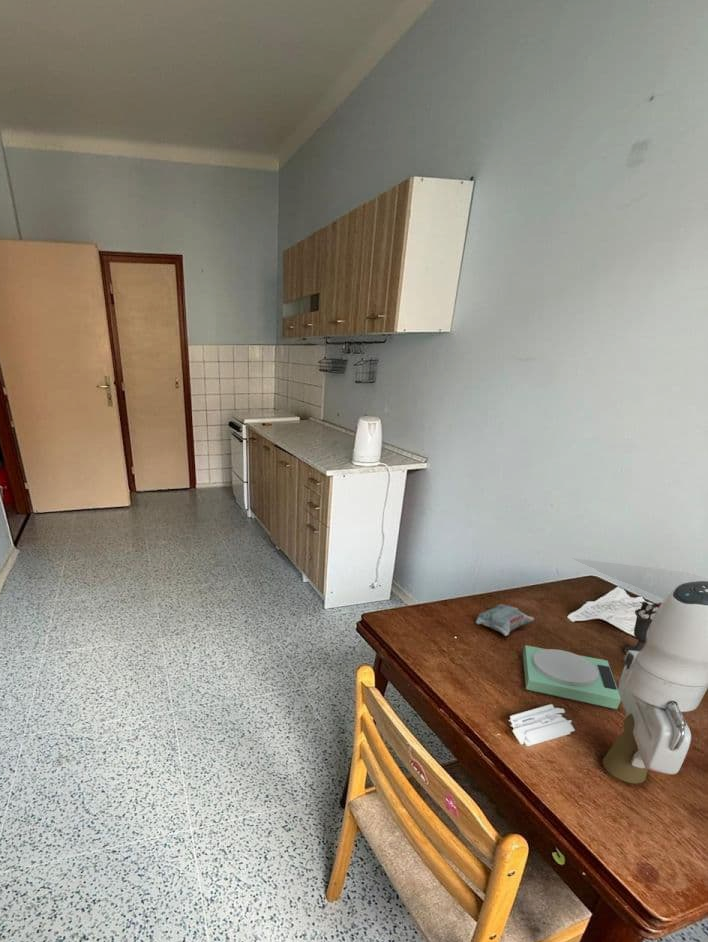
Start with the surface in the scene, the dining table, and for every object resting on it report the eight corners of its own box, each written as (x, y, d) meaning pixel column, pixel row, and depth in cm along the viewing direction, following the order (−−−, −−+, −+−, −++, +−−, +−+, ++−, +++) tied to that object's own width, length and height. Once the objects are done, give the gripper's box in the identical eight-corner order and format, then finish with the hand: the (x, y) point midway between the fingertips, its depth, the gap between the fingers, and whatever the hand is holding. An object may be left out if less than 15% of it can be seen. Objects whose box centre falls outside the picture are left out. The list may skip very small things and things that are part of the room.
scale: (603, 669, 104) (609, 656, 102) (617, 709, 92) (623, 695, 91) (522, 654, 109) (526, 641, 108) (525, 689, 98) (529, 675, 97)
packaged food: (531, 627, 119) (536, 610, 117) (504, 642, 114) (508, 624, 112) (499, 614, 126) (503, 597, 124) (472, 627, 120) (475, 610, 118)
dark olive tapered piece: (655, 780, 77) (682, 730, 72) (622, 785, 76) (648, 735, 71) (624, 753, 82) (647, 704, 77) (593, 757, 82) (615, 708, 76)
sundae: (656, 665, 105) (683, 606, 98) (619, 656, 108) (643, 598, 101) (654, 651, 109) (679, 593, 102) (619, 642, 113) (641, 586, 106)
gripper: (717, 735, 62) (675, 807, 68) (670, 653, 78) (640, 717, 84) (658, 722, 64) (622, 792, 70) (625, 645, 80) (599, 708, 87)
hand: (632, 750), depth 78 cm, fingers closed on dark olive tapered piece, 4 cm apart
